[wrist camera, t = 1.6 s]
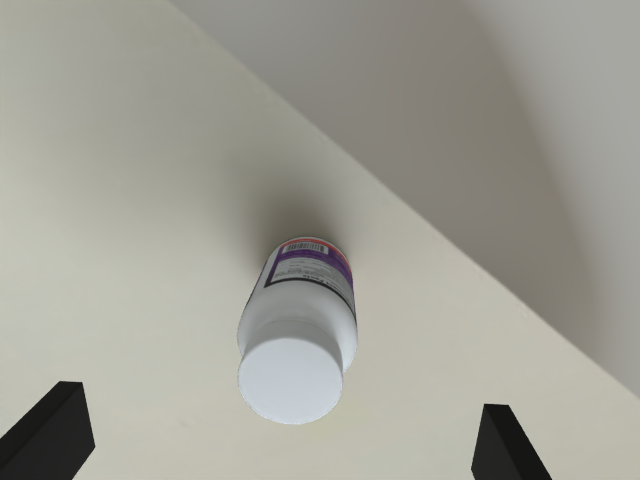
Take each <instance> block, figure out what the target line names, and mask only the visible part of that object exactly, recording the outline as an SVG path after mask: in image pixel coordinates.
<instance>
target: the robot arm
mask: <svg viewBox="0 0 640 480" xmlns="http://www.w3.org/2000/svg"><path fill="white" fill-rule="evenodd" d="M94 448H95V443H94V438H93V433H92V428H91V423H90V418H89V413H88V408H87V403H86V398H85V393H84V388H83V383H82V382H67V381H59V382H58V383H57V384H56V385H55V386H54V387H53V388H52V389H51V390H50V391H49V392H48V393H47V394H46V395H45V396H44V397H43V398H42V399H41V400H40V401H39V402H38V403H37V404H36V405H35V406H34V407H32V408H31V409H30V410H29V411H28V412H27V413H26V414H25V415H24V416H23V417H22V418H21V419H20V420H19V421H18V422H17V423H16V424H15V425H14V426H13V427H12V428H11V429H10V430H9V431H8V432H7V433H6V434H5V435H4V436H3V437H2V438H1V439H0V480H72V479H73V478H74V476H75V475H76V473H77V472H78V471H79V469H80V468H81V466H82V465H83V464H84V462H85V461H86V460H87V458H88V457H89V455H90V454H91V453H92V451H93V450H94ZM471 470H472V473H473V476H474V478H475V480H552V478H551V477H550V475H549V473H548V472H547V470H546V468H545V467H544V465H543V463H542V461H541V460H540V458H539V456H538V455H537V453H536V451H535V449H534V448H533V446H532V444H531V443H530V441H529V439H528V437H527V436H526V434H525V432H524V431H523V429H522V427H521V425H520V424H519V422H518V420H517V419H516V417H515V415H514V413H513V412H512V410H511V408H510V407H509V405H499V404H484V407H483V412H482V417H481V422H480V427H479V432H478V437H477V442H476V447H475V452H474V457H473V462H472V467H471Z"/></svg>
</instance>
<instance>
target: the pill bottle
mask: <svg viewBox="0 0 640 480" xmlns="http://www.w3.org/2000/svg"><path fill="white" fill-rule="evenodd" d="M237 340H238V346H239V350H240V353H241V356H242V360H241V363H240V366H239V370H238V386H239V390H240V393H241V395H242V397H243V399H244V400H245V402H246V403H247V404H248V406H249V407H250V408H252V409H253V410H254V411H255V412H256V413H257V414H259V415H260V416H262V417H264V418H266V419H268V420H271V421H274V422H278V423H282V424H303V423H308V422H311V421H314V420H316V419H318V418H320V417H322V416H324V415H325V414H327V413H328V412H329V411H330V410H331V409H332V408H333V407H334V406H335V404H336V403H337V401H338V400H339V397H340V395H341V392H342V387H343V374H344V372H345V371H346V370H347V369H348V367H349V366H350V364H351V363H352V361H353V359H354V356H355V353H356V349H357V341H358V336H357V323H356V313H355V303H354V292H353V279H352V272H351V268H350V265H349V263H348V261H347V259H346V257H345V256H344V255H343V253H342V252H341V251H340V250H339V249H338V248H337V247H336V246H334V245H333V244H331V243H329V242H328V241H325V240H323V239H320V238H316V237H298V238H294V239H291V240H288V241H286V242H284V243H283V244H281V245H280V246H278V247H277V248H276V249H275V250H274V251H273V252H272V254H271V255H270V257H269V258H268V260H267V261H266V263H265V265H264V267H263V270H262V272H261V274H260V276H259V279H258V281H257V283H256V285H255V287H254V289H253V292H252V294H251V296H250V298H249V300H248V302H247V304H246V306H245V309H244V311H243V314H242V316H241V319H240V322H239V326H238V333H237Z"/></svg>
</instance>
